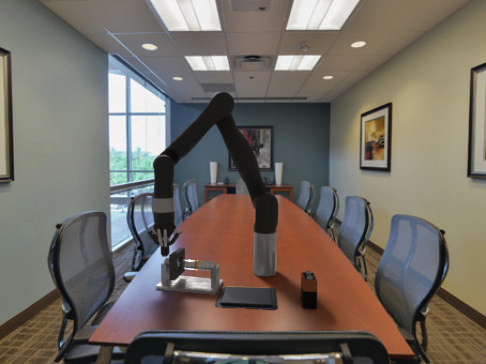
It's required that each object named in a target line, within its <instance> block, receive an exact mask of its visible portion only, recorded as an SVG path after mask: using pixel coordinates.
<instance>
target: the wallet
mask: <svg viewBox="0 0 486 364" xmlns="http://www.w3.org/2000/svg"><path fill="white" fill-rule="evenodd" d="M219 292H220V293H219ZM219 292H218V296H217V298H216V301H215V304H214V307H215V306H216V307H222V308H221V309H235V308H246V309H245V310H259V309H262V311H264V310H265V311H276V309H277V310H278V307H279V306H278V305H277V304H278V299H277V298H278V296H277V289H276V287H261V286H260V287H259V286H257V287H256V286H235V285H231V286H230V285H226V286H225V285H224V286H222V285H221V287H220V289H219ZM216 307H215V308H216Z"/></svg>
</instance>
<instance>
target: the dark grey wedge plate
mask: <svg viewBox="0 0 486 364" xmlns="http://www.w3.org/2000/svg"><path fill="white" fill-rule="evenodd" d="M168 258H169V280H174V281H175V280H176V279H177V278H178V277H179V276H182V274H184V273H185V272H186V269H184V268H177V259H186V247H178V248H177V249H176V250H175V251H172V253H169V255H168Z"/></svg>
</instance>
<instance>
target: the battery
mask: <svg viewBox="0 0 486 364" xmlns="http://www.w3.org/2000/svg"><path fill="white" fill-rule="evenodd" d="M300 299H301V301H300V302H301V306H302V308H303V309H310V310H317V307H318V280H317V277H316V273H314V272H313V271H311V270H307V269H306V270H305V271H302V272H301V274H300Z"/></svg>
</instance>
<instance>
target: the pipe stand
mask: <svg viewBox="0 0 486 364" xmlns="http://www.w3.org/2000/svg"><path fill="white" fill-rule="evenodd" d="M177 268H184V269H185V270H195V271H206V272H207V271H208V272H209V271H210V277H197V276H190V275H188V276H186V275H180V276H179V277H178V278H177V279H176V280H175V281H174V280H169V257H165V259H164V261H163V262H162V263H161V264H160V269H161V270H160V278H161V279H160V280H161V281H160V282H158V283H157V284H156V285H155V290H161V291H172V292H179V293H181V292H182V293H189V292H191V293H192V294H199V293H200V294H202V295H208V294H209V295H210V296H211V295H212V296H216V295H215V294H217V293H218V291H220V289H221V288H222V285H223V283H224V279H220V273H221V272H220V269H221V268H220V264H217V261H209V260H201V259H196V260H195V259H187V258H185V259H177Z"/></svg>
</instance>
